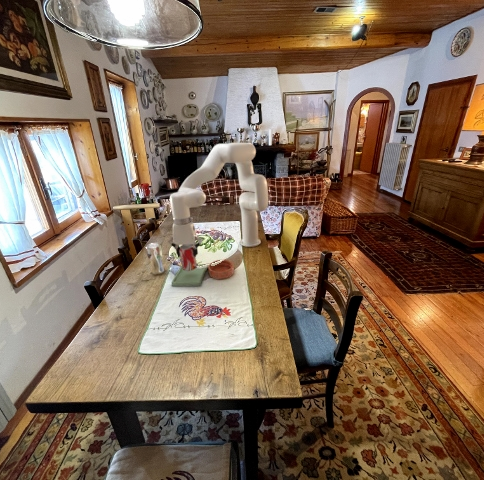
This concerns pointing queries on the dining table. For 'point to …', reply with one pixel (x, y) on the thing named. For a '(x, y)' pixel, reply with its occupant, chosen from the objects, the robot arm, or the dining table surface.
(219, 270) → the bowl
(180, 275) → the tray
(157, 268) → the beer glass
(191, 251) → the soda can
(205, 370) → the dining table surface
